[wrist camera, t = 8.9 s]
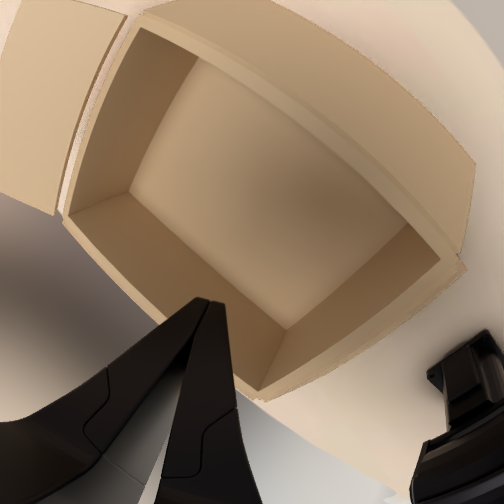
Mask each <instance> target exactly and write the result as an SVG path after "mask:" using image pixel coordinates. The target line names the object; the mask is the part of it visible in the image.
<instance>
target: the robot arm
mask: <svg viewBox="0 0 504 504" xmlns="http://www.w3.org/2000/svg"><path fill="white" fill-rule="evenodd" d="M485 336H486V337H485ZM484 337H485V338H484ZM431 374H432V375H431ZM426 375H427V379H428V380H429V381H430V382H431V383H432V384H433V385H434V386H435V387H436V388H437V389H438V390H440V391H441V392H442V393H443V394H444V403H445V414H446V427H447V432H446V433H444V434H442V435H440V436H438V437H436V438H434V439H432V440H428V441H426V442H423V445H422V449H421V452H420V456H419V459H418V462H417V465H416V468H415V471H414V474H413V477H412V480H411V484H410V488H409V491H410V499H411V503H412V504H504V354H503V352H502V350H501V349H500V347H499V346H498V344H497V343H496V341H495V339H494V338H493V336H492V335H491V333H490V332H489V331H488V330H485V331H483V332H482V333H480V334H479V335H478V336H477V337H475V338H474V339H473V340H471V341H470V342H469V343H467V344H466V345H465V346H463V347H462V348H461V349H459V350H458V351H456V352H455V353H454V354H452V355H451V356H449V357H448V358H446V359H445V360H443V361H442V362H440V363H439V364H437V365H436V366H434V367H433V368H431V369H430V370H428V371H427V373H426ZM171 426H172V428H171ZM170 428H171V432H170V437H169V441H168V446H167V450H166V455H165V459H164V464H163V468H162V473H161V479H160V483H159V487H158V491H157V495H156V499H155V502H154V504H263V503H262V500H261V497H260V494H259V492H258V489H257V486H256V483H255V480H254V477H253V474H252V471H251V468H250V464H249V461H248V458H247V454H246V451H245V447H244V443H243V439H242V433H241V427H240V421H239V414H238V409H237V400H236V392H235V384H234V376H233V367H232V359H231V350H230V341H229V332H228V323H227V313H226V305H225V303H223V302H219V301H215V300H212V301H210V300H209V299H207V298H202V297H195V298H193V299H192V300H191V301H190V302H188V303H187V304H186V305H184V306H183V307H182V308H181V309H179V310H178V311H177V312H175V313H174V314H173V315H172V316H170V317H169V318H168V319H166V320H165V321H164V322H163V323H161V324H160V325H159V326H157V327H156V328H155V329H154V330H153V331H151V332H150V333H148V334H147V335H146V336H145V337H143V338H142V339H141V340H140V341H138V342H137V343H136V344H134V345H133V346H132V347H130V348H129V349H128V350H127V351H125V352H124V353H123V354H121V355H120V356H119V357H117V358H116V359H115V360H114V361H112V362H111V363H110V364H108V366H107V367H104V368H103V369H102V370H101V371H99V372H98V373H97V374H95V375H94V376H93V377H91V378H90V379H89V380H87V381H86V382H84V383H83V384H82V385H80V386H79V387H77V388H75V389H74V390H72V391H71V392H69V393H68V394H66V395H64V396H63V397H61V398H59V399H58V400H56V401H54V402H53V403H51V404H49V405H47V406H46V407H44V408H42V409H41V410H39V411H37V412H35V413H33V414H32V415H30V416H28V417H26V418H23V419H19V420H15V421H9V422H0V504H138V502H139V500H140V497H141V495H142V493H143V490H144V488H145V485H146V483H147V481H148V479H149V476H150V474H151V472H152V469H153V467H154V465H155V462H156V460H157V458H158V456H159V453H160V451H161V449H162V446H163V444H164V442H165V440H166V437H167V435H168V433H169V430H170Z"/></svg>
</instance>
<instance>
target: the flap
mask: <svg viewBox="0 0 504 504" xmlns="http://www.w3.org/2000/svg"><path fill="white" fill-rule="evenodd" d="M127 17H128V16H127V15H124V14H121V13H118V12H115V11H112V10H108V9H105V8H102V7H98V6H95V5H91V4H87V3H83V2H79V1H75V0H22V2H21V4H20V7H19V9H18V11H17V14H16V16H15V18H14V21H13V23H12V26H11V29H10V31H9V34H8V37H7V40H6V43H5V46H4V49H3V52H2V55H1V59H0V192H2V193H4V194H6V195H8V196H10V197H13V198H15V199H17V200H19V201H21V202H23V203H26V204H28V205H30V206H32V207H34V208H37V209H39V210H41V211H43V212H46V213H48V214H50V215H52V216H54V215H55V213H56V211H57V208H58V202H59V197H60V193H61V188H62V184H63V179H64V175H65V171H66V167H67V163H68V160H69V156H70V152H71V149H72V145H73V142H74V139H75V136H76V132H77V129H78V126H79V123H80V120H81V118H82V115H83V112H84V109H85V106H86V104H87V101H88V98H89V96H90V93H91V91H92V88H93V86H94V84H95V81H96V79H97V77H98V74H99V72H100V70H101V68H102V65H103V63H104V61H105V59H106V57H107V55H108V53H109V51H110V49H111V47H112V45H113V43H114V41H115V39H116V37H117V35H118V33H119V31H120V30H121V28H122V26H123V24H124V23H125V21H126V19H127Z"/></svg>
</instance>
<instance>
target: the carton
mask: <svg viewBox="0 0 504 504" xmlns="http://www.w3.org/2000/svg"><path fill="white" fill-rule="evenodd" d="M475 165H476V163H475V162H474V161H473V160H472V158H471V157H470V156H469V155H468V154H467V152H466V151H465V150H464V149H463V148H462V146H461V145H460V144H459V143H458V142H457V141H456V139H455V138H454V137H453V136H452V135H451V134H450V133H449V132H448V131H447V130H446V128H445V127H444V126H443V125H442V124H441V123H440V122H439V121H438V120H437V119H436V118H435V117H434V116H433V115H432V114H431V113H430V112H429V111H428V110H427V109H426V108H425V107H424V106H423V105H422V104H421V103H420V102H419V101H418V100H417V99H415V98H414V97H413V96H412V95H411V94H410V93H409V92H408V91H407V90H406V89H404V88H403V87H402V86H401V85H400V84H399V83H397V82H396V81H395V80H394V79H393V78H391V77H390V76H389V75H388V74H387V73H385V72H384V71H383V70H382V69H380V68H379V67H378V66H376V65H375V64H374V63H373V62H371V61H370V60H369V59H367V58H366V57H365V56H363V55H362V54H360V53H359V52H358V51H356V50H355V49H353V48H352V47H350V46H349V45H347V44H346V43H345V42H343V41H342V40H340V39H338V38H337V37H335V36H334V35H332V34H331V33H329V32H327V31H326V30H324V29H322V28H321V27H319V26H317V25H316V24H314V23H312V22H311V21H309V20H307V19H305V18H303V17H302V16H300V15H298V14H296V13H294V12H292V11H290V10H288V9H286V8H284V7H282V6H280V5H278V4H276V3H274V2H272V1H270V0H175V1H171V2H168V3H165V4H161V5H158V6H155V7H152V8H149V9H146V10H144V11H143V15H141V14H139V16H138V17H137V19H136V21H135V22H134V24H133V26H132V28H131V29H130V31H129V33H128V35H127V37H126V38H125V40H124V42H123V44H122V46H121V48H120V50H119V52H118V54H117V56H116V58H115V60H114V62H113V64H112V66H111V68H110V70H109V72H108V74H107V77H106V79H105V81H104V83H103V86H102V88H101V90H100V93H99V95H98V98H97V100H96V103H95V105H94V108H93V110H92V113H91V116H90V118H89V121H88V124H87V127H86V129H85V132H84V135H83V138H82V141H81V145H80V148H79V151H78V154H77V158H76V161H75V165H74V168H73V172H72V176H71V180H70V184H69V188H68V192H67V196H66V201H65V205H64V210H63V215H62V217H63V218H64V221H63V222H62V223H63V225H64V226H65V227H66V228H67V229H68V231H69V232H70V233H71V234H72V235H73V237H74V238H75V239H76V240H77V241H78V242H79V243H80V245H81V246H82V247H83V248H84V249H85V250H86V251H87V253H88V254H89V255H90V256H91V257H92V258H93V259H94V260H95V261H96V262H97V264H99V266H100V267H101V268H102V269H103V270H104V271H105V272H106V273H107V274H108V275H109V276H110V277H111V278H112V279H113V280H114V281H115V283H116V284H117V285H118V286H119V287H120V288H121V289H122V290H123V291H124V292H125V293H126V294H127V295H128V296H129V297H131V298H132V300H133V301H135V302H136V303H137V304H138V305H139V306H140V307H141V308H142V309H143V310H144V311H145V312H146V313H147V314H148V315H149V316H150V317H151V318H153V319H154V320H155V321H156V322H157V323H158V324H159V325H160V324H161V323H163V322H164V321H165V320H166V319H168V318H169V317H170V316H172V315H173V314H174V313H175V312H177V311H178V310H179V309H181V308H182V307H183V306H184V305H186V304H187V303H188V302H190V301H191V300H192V299H193V298H195V297H202V298H207V299H209V300H210V301H212V300H215V301H219V302H223V303H225V305H226V313H227V323H228V332H229V341H230V350H231V359H232V367H233V376H234V384H235V388H237V389H238V390H239V391H241V392H242V393H243V394H245V395H246V396H248V397H249V398H250V399H252V400H254V399H255V398H258V399H259V400H261V399H263V400H264V402H267V401H270V400H272V399H275V398H277V397H279V396H281V395H284V394H286V393H288V392H290V391H293V390H295V389H297V388H299V387H301V386H303V385H305V384H308V383H310V382H312V381H314V380H316V379H318V378H320V377H322V376H324V375H326V374H327V373H329V372H331V371H332V370H334V369H336V368H337V367H339V366H341V365H342V364H344V363H346V362H347V361H349V360H350V359H352V358H354V357H355V356H357V355H358V354H360V353H361V352H363V351H364V350H366V349H367V348H369V347H370V346H372V345H373V344H375V343H376V342H378V341H379V340H381V339H382V338H383V337H385V336H386V335H388V334H389V333H391V332H392V331H393V330H395V329H396V328H397V327H399V326H400V325H401V324H403V323H404V322H406V321H407V320H408V319H409V318H411V317H412V316H413V315H415V314H416V313H417V312H419V311H420V310H421V309H422V308H424V307H425V306H426V305H427V304H429V303H430V302H431V301H432V300H433V299H435V298H436V297H437V296H438V295H439V294H441V293H442V292H443V291H444V290H445V289H446V288H448V287H449V286H450V285H451V284H452V283H453V282H454V281H456V280H457V279H458V278H459V277H460V276H461V275H462V274H463V273H464V272H466V271H467V270H468V269H467V268H466V266H465V265H464V264H463V262H461V261H458V260H459V258H458V256H457V255H456V254H458V253H460V252H461V249H462V245H463V241H464V236H465V231H466V227H467V221H468V216H469V210H470V204H471V198H472V191H473V183H474V175H475Z"/></svg>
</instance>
